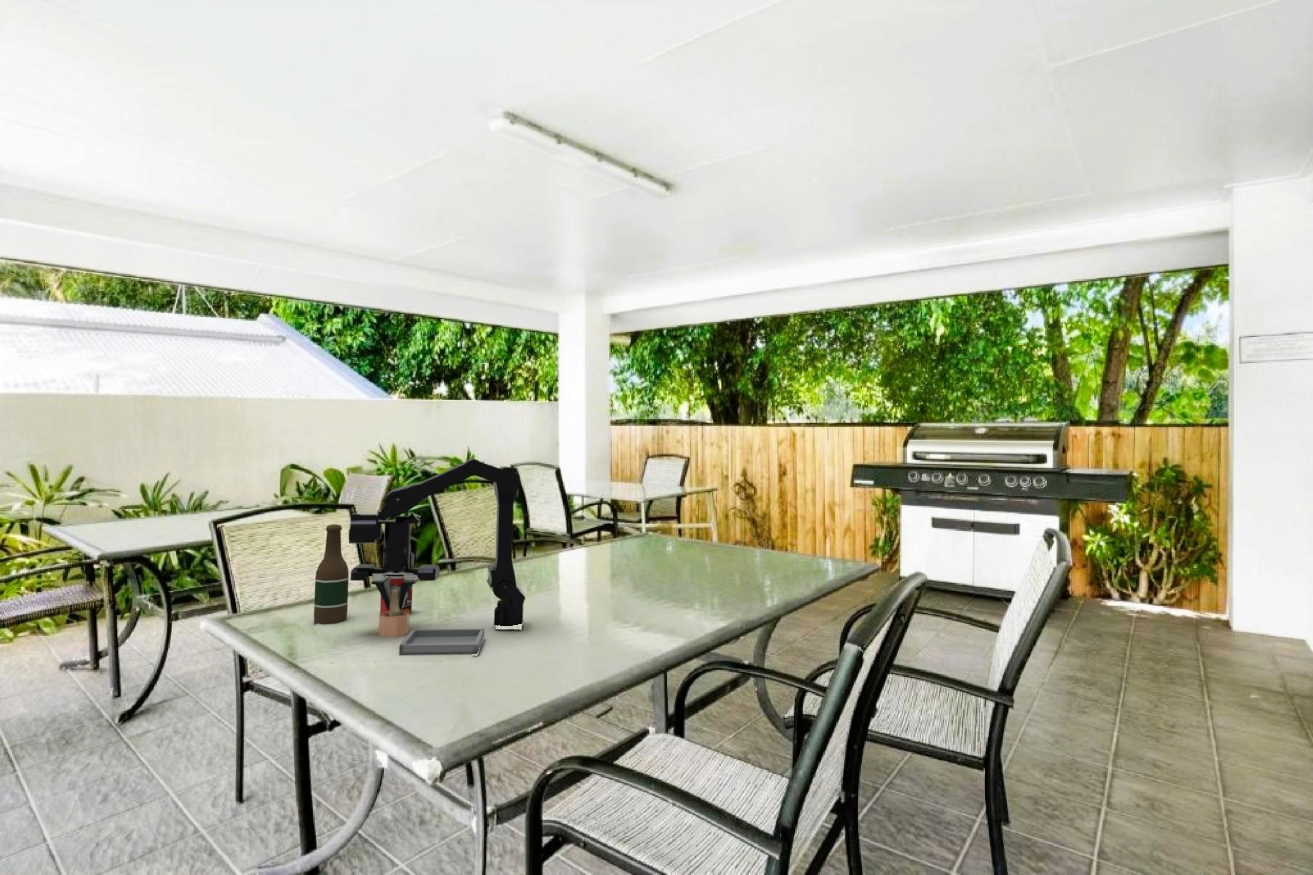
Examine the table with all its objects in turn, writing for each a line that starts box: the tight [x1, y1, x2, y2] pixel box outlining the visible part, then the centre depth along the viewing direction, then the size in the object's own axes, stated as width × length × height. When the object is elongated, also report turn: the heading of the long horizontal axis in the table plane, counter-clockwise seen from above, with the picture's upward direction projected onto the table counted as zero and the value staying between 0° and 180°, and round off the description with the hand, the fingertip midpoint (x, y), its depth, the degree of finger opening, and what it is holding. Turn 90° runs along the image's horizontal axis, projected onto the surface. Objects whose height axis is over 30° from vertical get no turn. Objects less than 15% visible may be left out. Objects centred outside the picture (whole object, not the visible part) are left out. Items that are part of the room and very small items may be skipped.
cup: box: [378, 611, 410, 638], centre depth 152 cm, size 6×6×5 cm
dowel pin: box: [389, 587, 401, 616], centre depth 152 cm, size 2×2×10 cm
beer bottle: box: [313, 524, 350, 626], centre depth 161 cm, size 8×8×24 cm
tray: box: [398, 628, 485, 656], centre depth 144 cm, size 16×12×2 cm
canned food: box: [379, 572, 414, 616], centre depth 169 cm, size 8×8×11 cm
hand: (394, 609), depth 152 cm, fingers closed on dowel pin, 2 cm apart
